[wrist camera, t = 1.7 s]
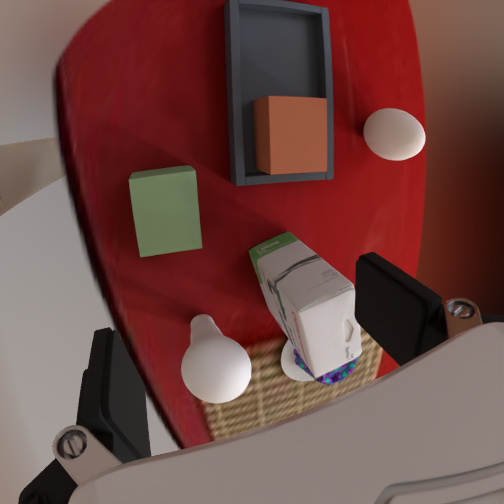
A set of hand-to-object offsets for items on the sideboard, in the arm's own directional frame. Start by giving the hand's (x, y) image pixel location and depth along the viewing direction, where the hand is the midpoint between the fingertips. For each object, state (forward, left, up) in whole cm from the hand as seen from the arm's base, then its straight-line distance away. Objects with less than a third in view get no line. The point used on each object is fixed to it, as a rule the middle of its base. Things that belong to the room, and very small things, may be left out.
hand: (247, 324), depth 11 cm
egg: (+20, +6, -19) cm, 28 cm away
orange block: (+9, +6, -18) cm, 21 cm away
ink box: (+9, -9, -19) cm, 23 cm away
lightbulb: (0, -13, -19) cm, 23 cm away
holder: (+9, +10, -19) cm, 23 cm away
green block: (-2, 0, -19) cm, 19 cm away
